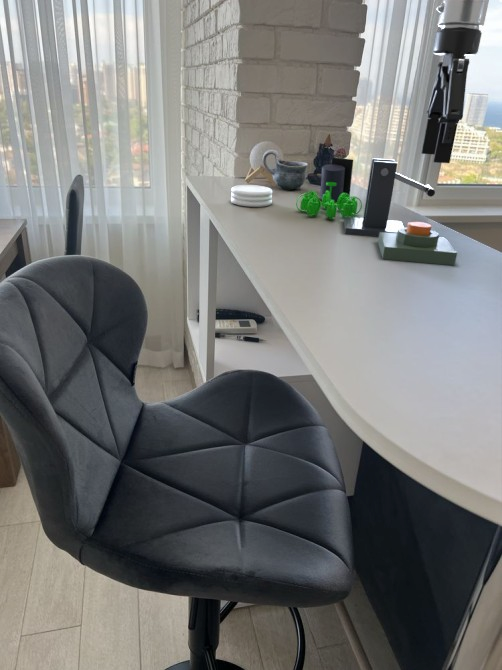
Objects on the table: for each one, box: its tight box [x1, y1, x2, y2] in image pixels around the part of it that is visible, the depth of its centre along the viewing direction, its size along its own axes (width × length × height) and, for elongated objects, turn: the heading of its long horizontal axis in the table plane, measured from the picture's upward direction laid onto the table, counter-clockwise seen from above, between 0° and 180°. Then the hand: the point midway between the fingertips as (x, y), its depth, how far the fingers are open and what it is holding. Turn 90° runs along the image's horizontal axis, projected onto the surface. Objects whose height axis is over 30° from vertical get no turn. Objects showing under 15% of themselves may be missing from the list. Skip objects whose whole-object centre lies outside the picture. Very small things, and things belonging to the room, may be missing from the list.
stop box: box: [377, 226, 458, 266], centre depth 90 cm, size 12×10×4 cm
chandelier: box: [295, 182, 363, 221], centre depth 115 cm, size 15×15×7 cm
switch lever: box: [395, 172, 436, 198], centre depth 100 cm, size 12×5×2 cm, turn 82°
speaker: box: [319, 157, 354, 203], centre depth 129 cm, size 8×6×10 cm
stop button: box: [406, 221, 432, 236], centre depth 89 cm, size 4×4×2 cm
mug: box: [261, 149, 309, 190], centre depth 140 cm, size 10×12×10 cm
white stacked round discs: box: [230, 184, 273, 208], centre depth 122 cm, size 10×10×4 cm
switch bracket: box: [343, 157, 405, 238], centre depth 102 cm, size 12×10×14 cm
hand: (434, 158), depth 97 cm, fingers open, 13 cm apart
